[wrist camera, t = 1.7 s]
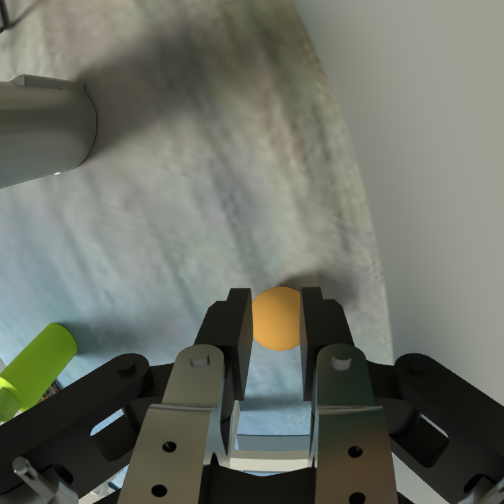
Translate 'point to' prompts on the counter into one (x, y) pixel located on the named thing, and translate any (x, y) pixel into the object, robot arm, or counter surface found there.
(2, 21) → the chair
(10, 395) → the soap dispenser
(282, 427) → the counter surface
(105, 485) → the seated beast figurine
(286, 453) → the bridge
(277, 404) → the counter surface
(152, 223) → the counter surface
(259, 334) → the ball
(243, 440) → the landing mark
